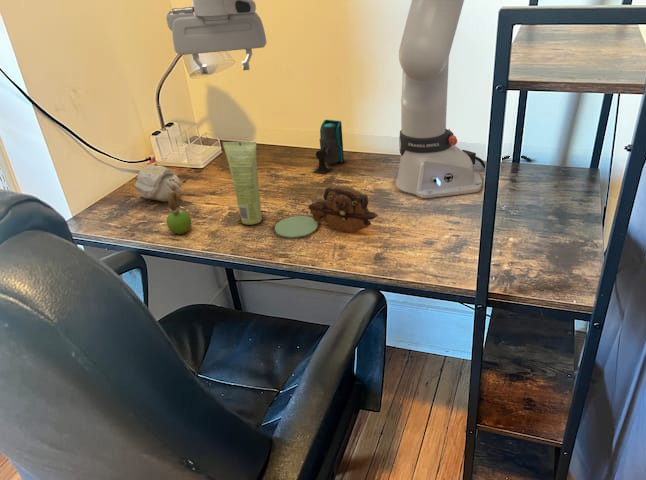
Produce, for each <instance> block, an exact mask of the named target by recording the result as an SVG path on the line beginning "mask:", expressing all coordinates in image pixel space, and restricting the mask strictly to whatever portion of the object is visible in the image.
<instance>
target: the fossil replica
mask: <svg viewBox="0 0 646 480" xmlns="http://www.w3.org/2000/svg"><path fill="white" fill-rule="evenodd" d="M169 179H171V181H169ZM172 179H175V180H174V181H172ZM171 184H175V185H176V190H177V194H178V197H180V195H181V193H182V191H181V186H182V182H181V180H180V178H179V177H178V176H177V174H175V173H174V171H172V170H171V169H170V168H168V167H166V166H163V165H156V164H154V163H151V164H149V165H146V166H144V167H142V168H141V169H140V170H139V171H138V174H137V177H136V182H135V184H134V188H135V189H136V191H138V193H139V194H140V195H141V197H142V198H144V199H147V200H153V201H157V202H163V203H167V202H168V194H169V192H170V191H171V188H170V185H171Z"/></svg>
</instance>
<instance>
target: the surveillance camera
mask: <svg viewBox="0 0 646 480" xmlns="http://www.w3.org/2000/svg"><path fill="white" fill-rule="evenodd" d="M319 135H320V138H319V150H317V151H316V152H315V157H316V159H317V160H318V168H316V169H315V170H314V171H313V173H316V174H322V175H326V174H327V173H328V172H330V171H331V170H332V168H330V167H327V166H326V164H336V163H344V162H345V158H344V157H345V156H344V143H343V142H344V141H343V126H342V121H341V120H336V119H335V120H333V119H324V120H323V121H322V123H321V125H320V129H319Z"/></svg>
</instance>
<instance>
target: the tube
mask: <svg viewBox="0 0 646 480" xmlns="http://www.w3.org/2000/svg"><path fill="white" fill-rule="evenodd" d="M257 145H258V144H257V141H222V146H223V150H224V152H225V156H226V160H227V163H228V167H229V171H230V175H231V179H232V183H233V188H234V192H235V197H236V202H237V206H238V211H239V217H240V222H241V223H242V224H243V225H248V226H251V225H257V224H259V223H261V222H262V220H263V215H262V208H261V207H262V206H261V198H260V186H259V177H258V161H257Z"/></svg>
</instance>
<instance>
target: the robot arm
mask: <svg viewBox="0 0 646 480" xmlns="http://www.w3.org/2000/svg"><path fill="white" fill-rule="evenodd" d="M191 2H192V6H186V7H180V8H179V7H174V8H171V10H170V11H168V12H167V14H166V18H165V19H166V24H167V27H168V29H169V30H170V31H171V34H172V42H173V43H172V44H173V50H174V52H175V54H177V55H178V56H187V55H192V60H193V61H194V62H195V64H196V65H197V66H198V67H199V69H200V75H204V76H205V75H208V74H209V72H208V66H207V64H203V63H202V62H201V60H200V54H208V53H220V52H221V53H222V52H230V51H242V50H244V52H245V55H246V57H245V59H244V60H242V61H241V65H242V70H243V71H250V61H251V59H252V56H253V50H254V49H262V48H263V49H264V48H265V47H266V45H267V36H266V32H265V28H264V25H263V21H262V19H261V17H260V16H259V14H258V13H257V12H256V11H257V5H256V2H255V0H191ZM464 3H465V0H411V3H410V6H409V9H408V13H407V17H406V21H405V25H404V29H403V33H402V37H401V39H400V40H401V41H400V45H399V49H398V61H399V64H400V67H401V69H402V78H401V79H402V80H401V95H400V96H401V97H400V108H401V109H400V115H401V117H400V118H401V119H400V121H401V125H400V127H401V128H400V131H399V136H398V148H399V149H398V151H399V154H400V156H399V166H398V171H397V176H396V179H395V182H394V183H395V186H396V187H397V188H398V189H399V190H400V191H402V192H405V193H408V194H411V195H415V196H417V197H419V198H421V199H433V198H440V197H448V196H457V195H464V194H472V193H473V194H474V193H478V192H479V193H480V191H481V190H482V188H483V179H482V177H481V175H480V173H479V172H477V171H476V170H475V167H474V165H476V161H478V162H479V163H480V165H481V166H482V168H483V169H485V165H486V163H485V162H484V161H483V159H482V158H481V157H478V156H477V153H476V152H473V151H470V150H468V149H467V150H466V149H461V148H459V147H458V146H456V145H457V144H458V138H457V136H455V135H454V132H452V130H451V129H450V128H448V129H447V110H448V109H447V108H448V85H449V64H450V63H449V62H450V54H451V50H452V46H453V43H454V39H455V36H456V32H457V28H458V25H459V21H460V17H461V14H462V11H463V6H464ZM521 155H522V156H521V158H520V159H523V160H525V161H527V162H529V163H532V162H533V160H532V159H531V158H530V157H528V156H526V155H523V154H521ZM503 157H504V158H503ZM509 157H510V156H509V155H505V156H502V161H505V160H508V159H510V158H509ZM527 157H528V158H527Z"/></svg>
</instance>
